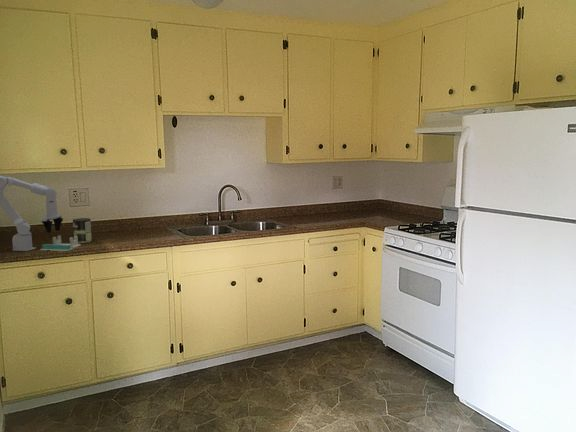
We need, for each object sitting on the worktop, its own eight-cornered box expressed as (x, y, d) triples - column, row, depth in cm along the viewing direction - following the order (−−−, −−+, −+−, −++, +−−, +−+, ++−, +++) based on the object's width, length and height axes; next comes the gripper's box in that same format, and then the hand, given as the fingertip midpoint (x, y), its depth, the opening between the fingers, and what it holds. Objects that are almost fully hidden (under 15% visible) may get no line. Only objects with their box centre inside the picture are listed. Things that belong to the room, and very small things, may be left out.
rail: (42, 248, 262) (42, 244, 262) (45, 248, 264) (44, 244, 264) (67, 249, 260) (67, 245, 259) (70, 248, 262) (70, 244, 262)
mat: (39, 250, 260) (39, 249, 260) (46, 248, 266) (46, 247, 266) (66, 251, 258) (66, 250, 258) (73, 248, 264) (73, 248, 264)
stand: (50, 247, 268) (49, 237, 267) (58, 245, 275) (57, 235, 274) (73, 248, 266) (73, 238, 265) (80, 245, 273) (80, 235, 272)
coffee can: (77, 243, 279) (76, 221, 277) (71, 241, 286) (70, 219, 284) (94, 241, 286) (93, 219, 284) (88, 239, 294) (86, 217, 292)
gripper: (49, 210, 258) (51, 233, 260) (65, 207, 272) (67, 229, 274) (38, 210, 259) (40, 233, 261) (55, 207, 273) (56, 229, 275)
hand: (53, 231), depth 267 cm, fingers open, 7 cm apart
